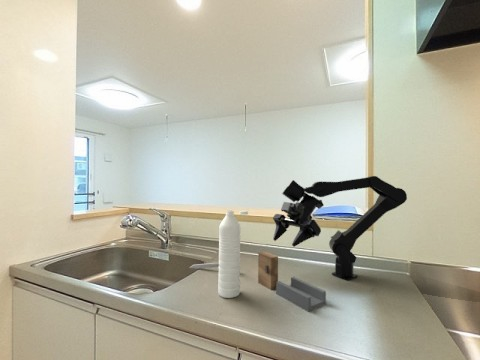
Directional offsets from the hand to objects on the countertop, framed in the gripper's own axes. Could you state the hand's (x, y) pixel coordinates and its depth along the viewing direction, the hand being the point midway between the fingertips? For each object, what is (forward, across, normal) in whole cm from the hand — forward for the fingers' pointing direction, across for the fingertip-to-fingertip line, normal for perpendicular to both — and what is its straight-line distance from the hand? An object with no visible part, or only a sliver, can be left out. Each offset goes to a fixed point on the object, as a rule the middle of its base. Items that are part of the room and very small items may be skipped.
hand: (283, 242), depth 81 cm
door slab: (+14, 0, +4) cm, 15 cm away
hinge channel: (+13, +12, +6) cm, 18 cm away
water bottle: (+23, -1, -5) cm, 24 cm away
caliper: (+21, -21, -2) cm, 30 cm away
